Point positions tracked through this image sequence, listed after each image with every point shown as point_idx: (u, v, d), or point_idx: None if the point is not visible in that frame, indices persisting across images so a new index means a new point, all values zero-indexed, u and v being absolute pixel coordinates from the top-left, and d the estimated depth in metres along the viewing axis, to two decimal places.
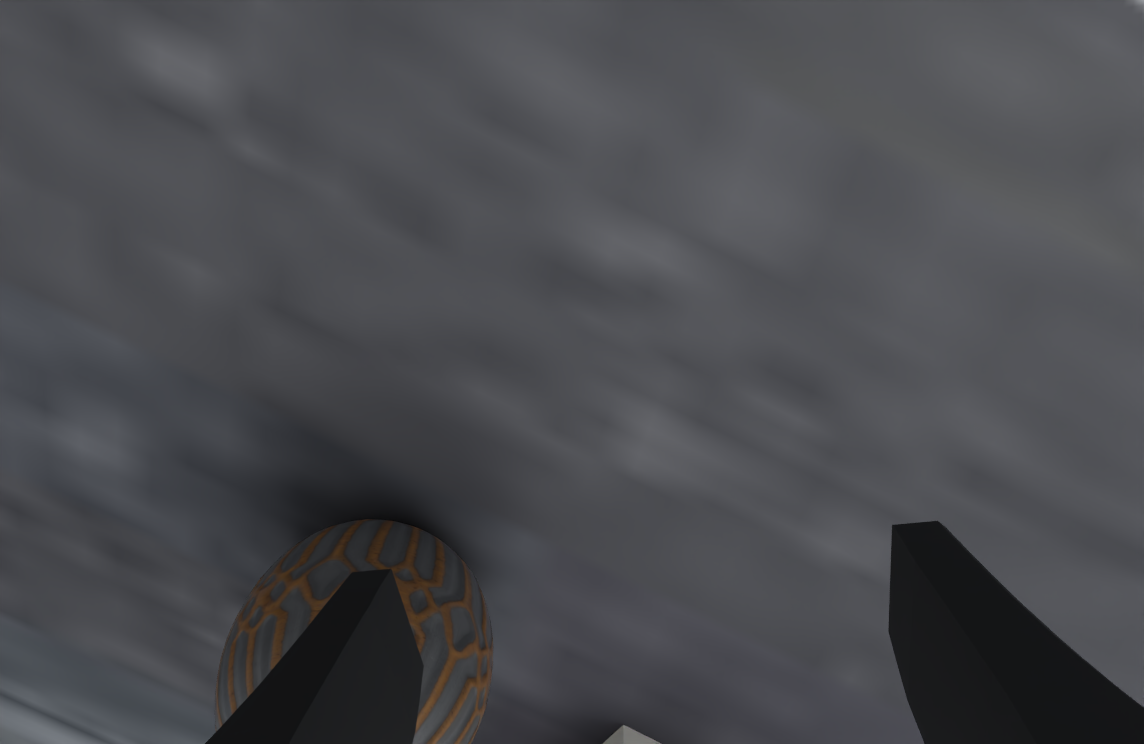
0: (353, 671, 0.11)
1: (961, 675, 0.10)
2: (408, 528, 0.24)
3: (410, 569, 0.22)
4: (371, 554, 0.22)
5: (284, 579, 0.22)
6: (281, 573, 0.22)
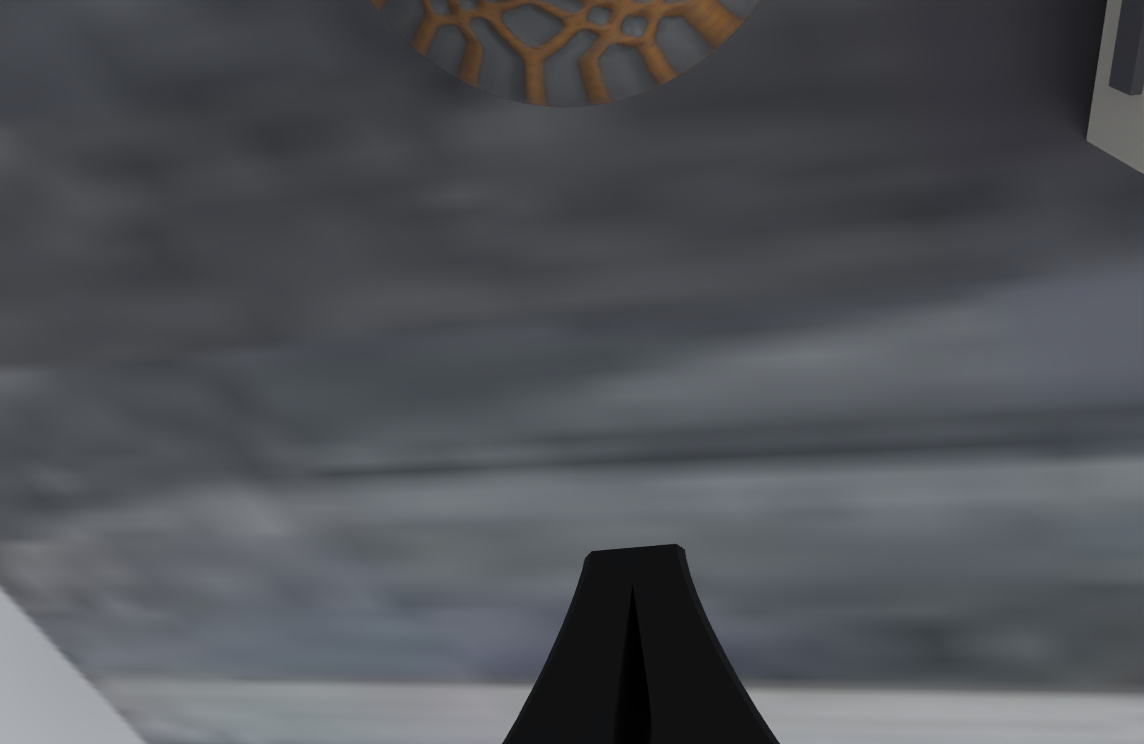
0: (631, 651, 0.11)
1: None
2: None
3: None
4: None
5: None
6: None
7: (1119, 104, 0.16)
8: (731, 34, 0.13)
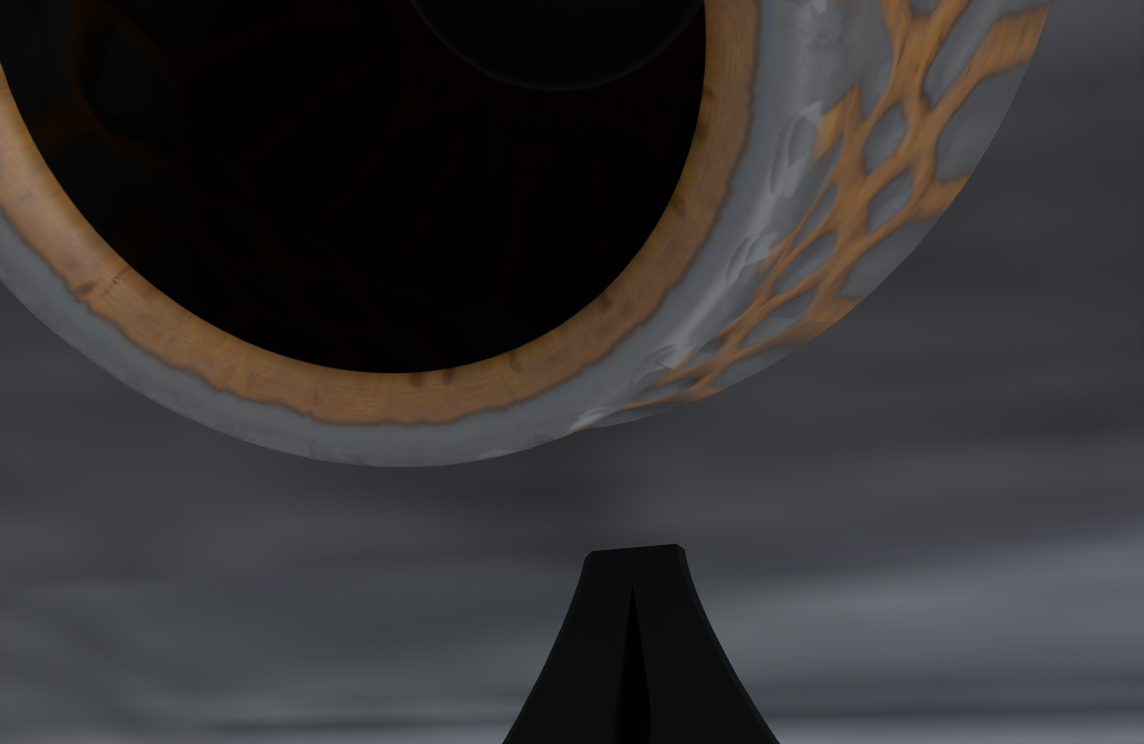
0: (631, 651, 0.11)
1: None
2: None
3: None
4: None
5: None
6: None
7: None
8: None
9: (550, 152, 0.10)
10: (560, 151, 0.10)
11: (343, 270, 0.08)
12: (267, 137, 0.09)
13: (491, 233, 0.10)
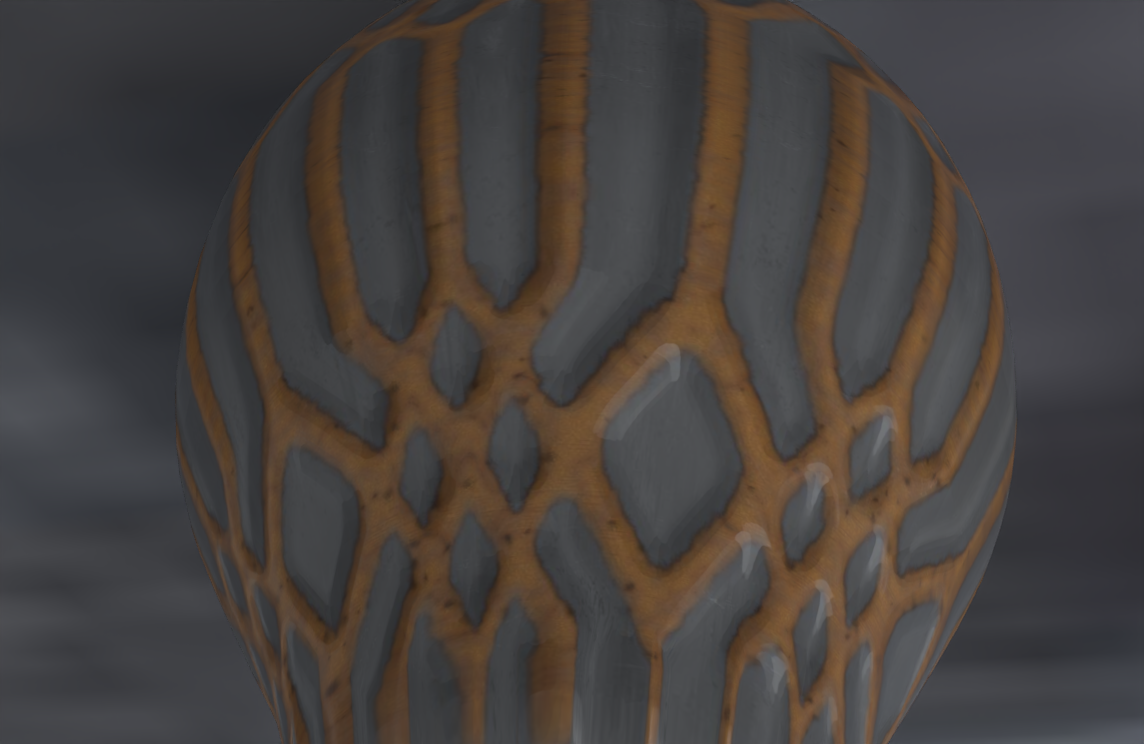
0: None
1: None
2: None
3: None
4: None
5: None
6: None
7: None
8: None
9: None
10: None
11: None
12: None
13: None
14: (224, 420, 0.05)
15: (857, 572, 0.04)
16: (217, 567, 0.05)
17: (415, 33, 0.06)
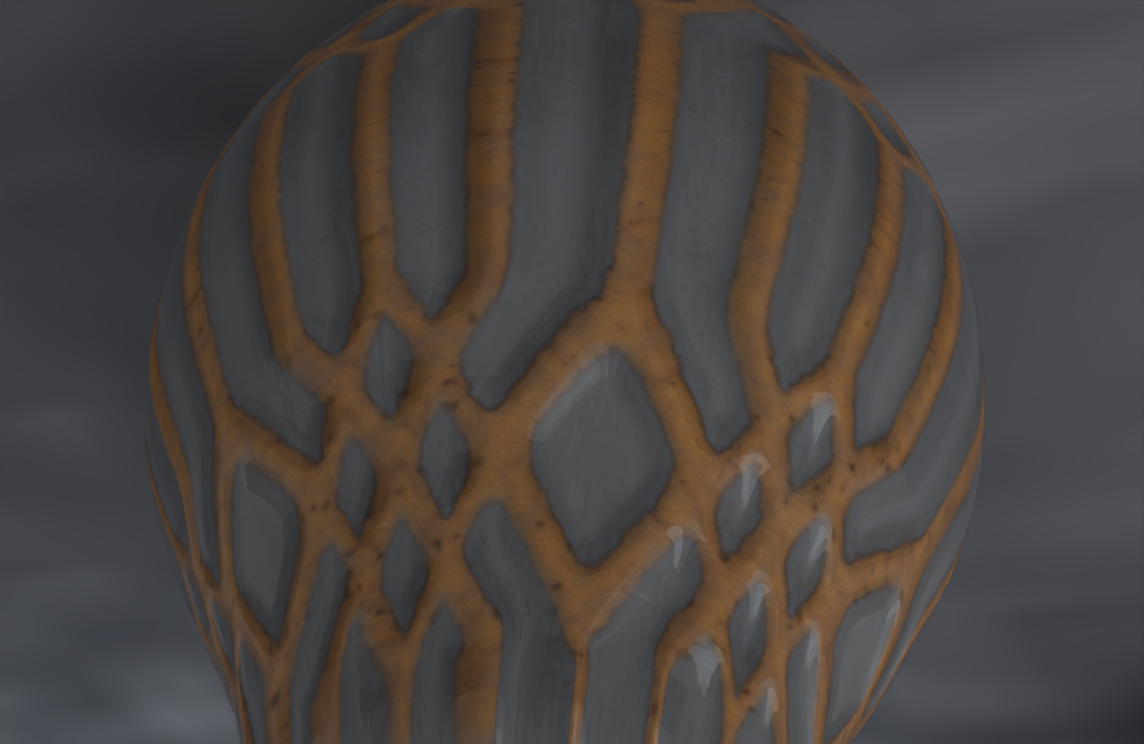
0: None
1: None
2: None
3: None
4: None
5: None
6: None
7: None
8: None
9: None
10: None
11: None
12: None
13: None
14: (183, 443, 0.05)
15: (802, 563, 0.04)
16: (185, 586, 0.05)
17: (356, 47, 0.06)
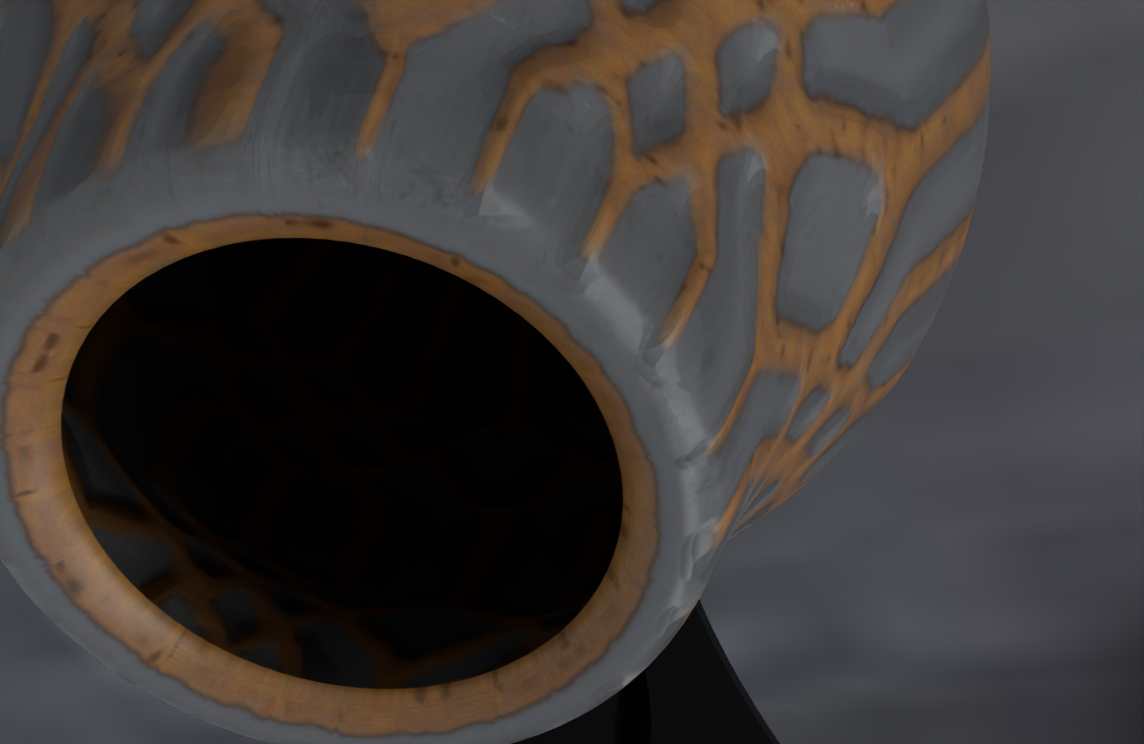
0: None
1: None
2: None
3: None
4: None
5: None
6: None
7: None
8: None
9: None
10: None
11: (365, 406, 0.09)
12: (287, 282, 0.09)
13: (500, 344, 0.10)
14: None
15: (741, 71, 0.03)
16: None
17: None
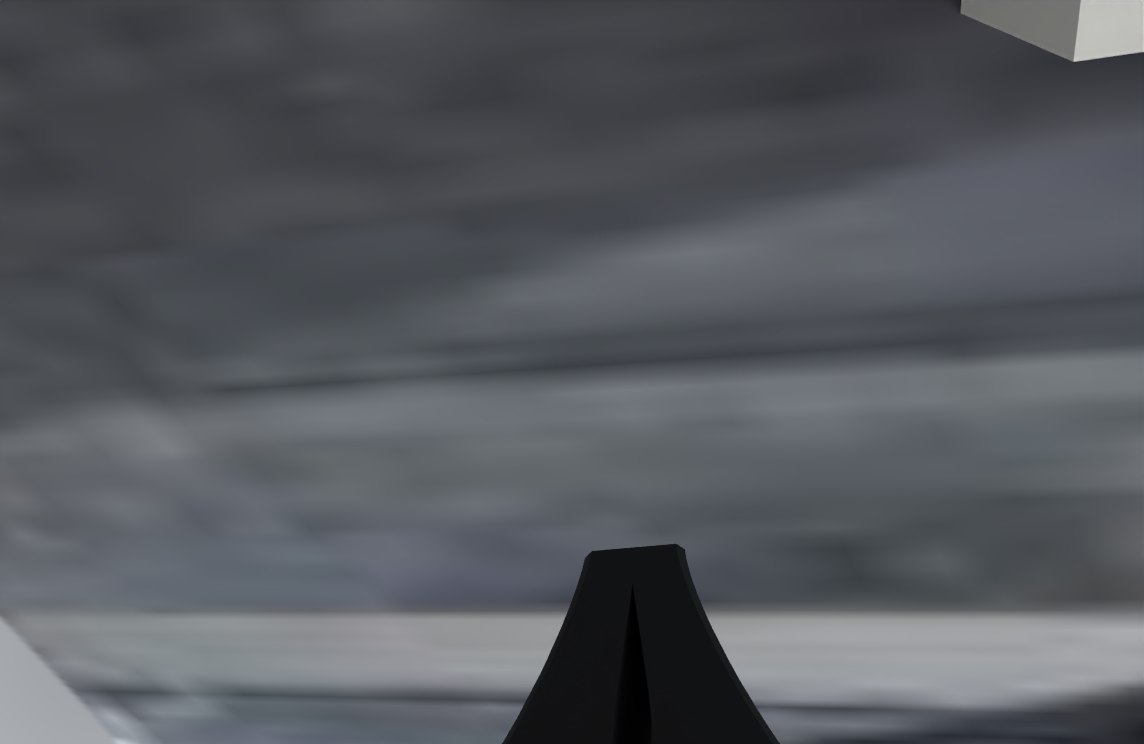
0: (630, 651, 0.11)
1: None
2: None
3: None
4: None
5: None
6: None
7: None
8: None
9: None
10: None
11: None
12: None
13: None
14: None
15: None
16: None
17: None
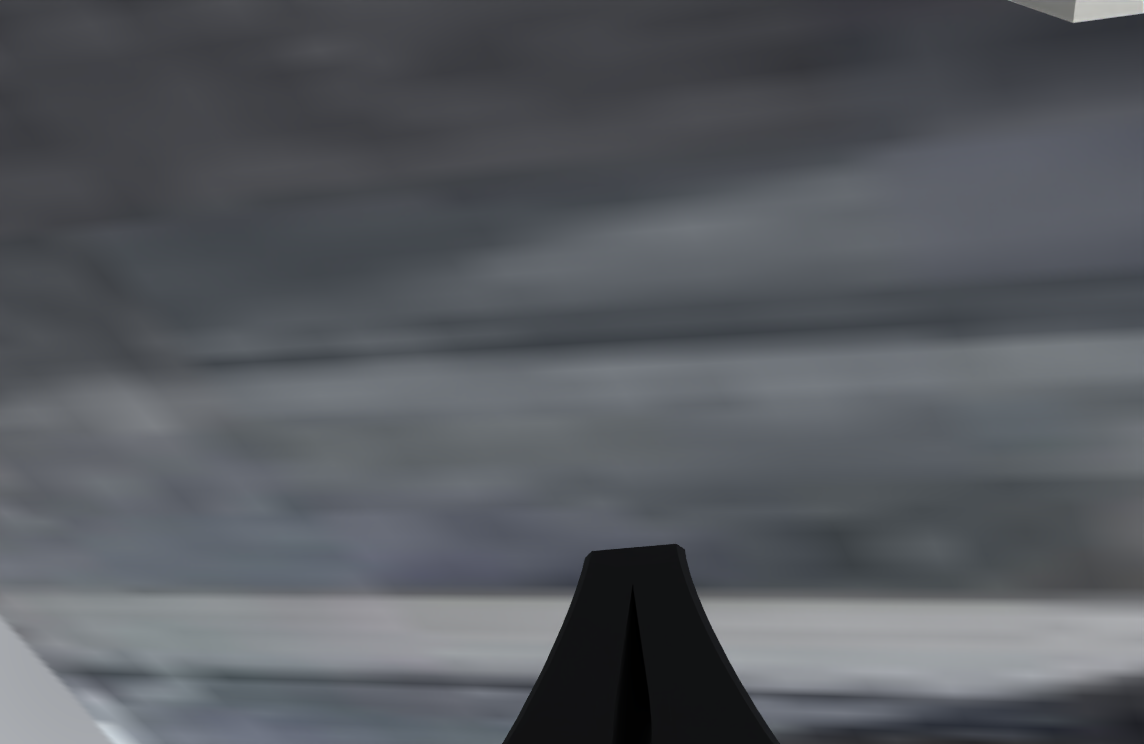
0: (631, 651, 0.11)
1: None
2: None
3: None
4: None
5: None
6: None
7: None
8: None
9: None
10: None
11: None
12: None
13: None
14: None
15: None
16: None
17: None
